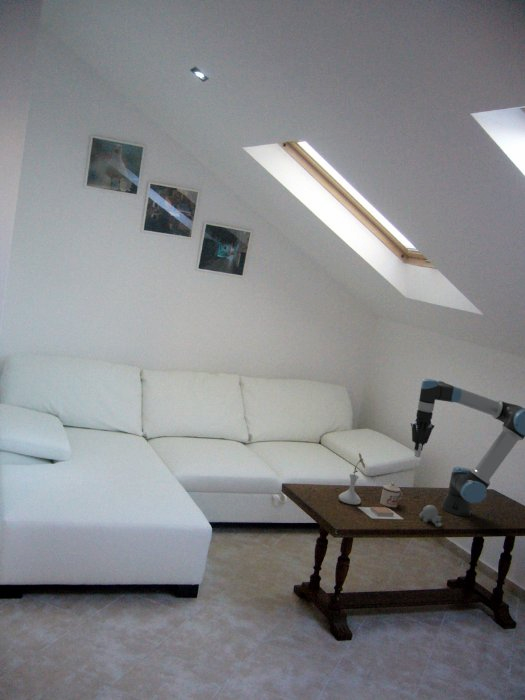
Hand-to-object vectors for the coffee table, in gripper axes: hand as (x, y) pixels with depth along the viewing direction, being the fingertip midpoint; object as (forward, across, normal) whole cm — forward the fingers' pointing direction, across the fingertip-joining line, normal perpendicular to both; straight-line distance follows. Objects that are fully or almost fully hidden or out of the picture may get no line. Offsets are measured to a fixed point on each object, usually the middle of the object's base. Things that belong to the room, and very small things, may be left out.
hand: (417, 456), depth 342 cm
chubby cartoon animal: (+29, -3, +16) cm, 33 cm away
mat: (+28, +19, +5) cm, 34 cm away
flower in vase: (+28, +28, -10) cm, 41 cm away
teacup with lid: (+28, +5, -8) cm, 30 cm away
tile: (+27, +14, +5) cm, 31 cm away
